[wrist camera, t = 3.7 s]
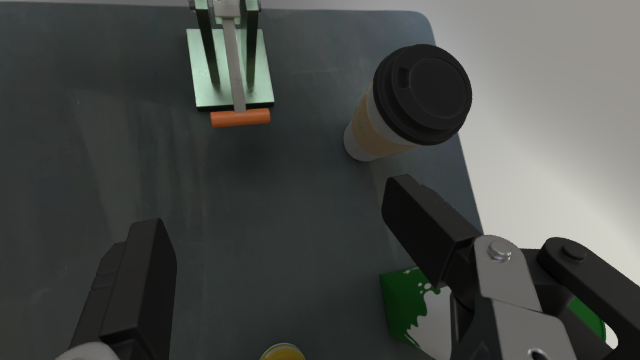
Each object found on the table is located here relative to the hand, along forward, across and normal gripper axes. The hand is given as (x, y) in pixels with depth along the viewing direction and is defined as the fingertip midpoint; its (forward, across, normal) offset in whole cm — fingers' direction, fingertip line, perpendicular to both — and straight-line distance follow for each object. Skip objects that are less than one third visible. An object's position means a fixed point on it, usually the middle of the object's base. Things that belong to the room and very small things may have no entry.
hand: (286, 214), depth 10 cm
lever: (+23, 0, -1) cm, 23 cm away
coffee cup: (+23, -16, +11) cm, 30 cm away
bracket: (+31, 0, +2) cm, 31 cm away
